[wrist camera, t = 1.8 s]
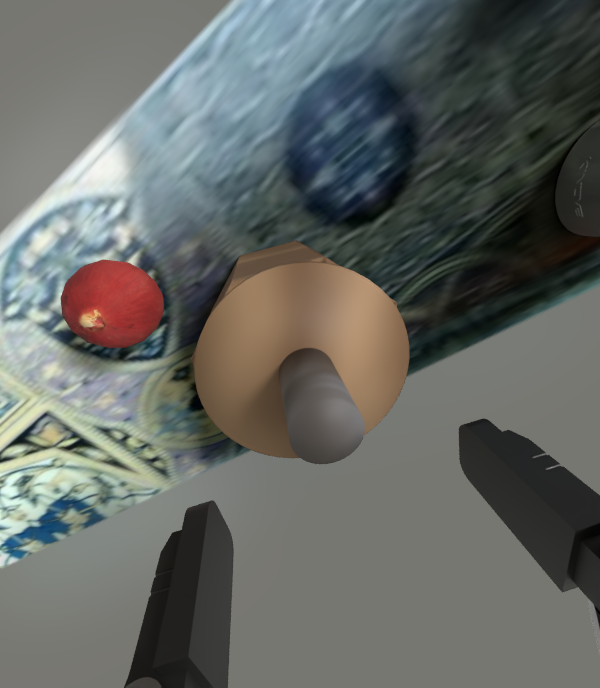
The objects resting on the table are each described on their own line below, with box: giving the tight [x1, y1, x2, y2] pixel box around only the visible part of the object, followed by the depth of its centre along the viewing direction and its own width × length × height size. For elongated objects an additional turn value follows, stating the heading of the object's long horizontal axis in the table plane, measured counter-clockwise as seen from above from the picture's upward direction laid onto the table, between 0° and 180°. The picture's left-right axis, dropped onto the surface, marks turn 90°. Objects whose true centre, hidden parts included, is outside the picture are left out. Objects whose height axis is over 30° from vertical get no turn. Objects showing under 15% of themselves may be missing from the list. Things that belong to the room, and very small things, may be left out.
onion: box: [61, 260, 164, 348], centre depth 20 cm, size 6×6×8 cm
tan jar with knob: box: [191, 241, 409, 464], centre depth 19 cm, size 12×12×16 cm
